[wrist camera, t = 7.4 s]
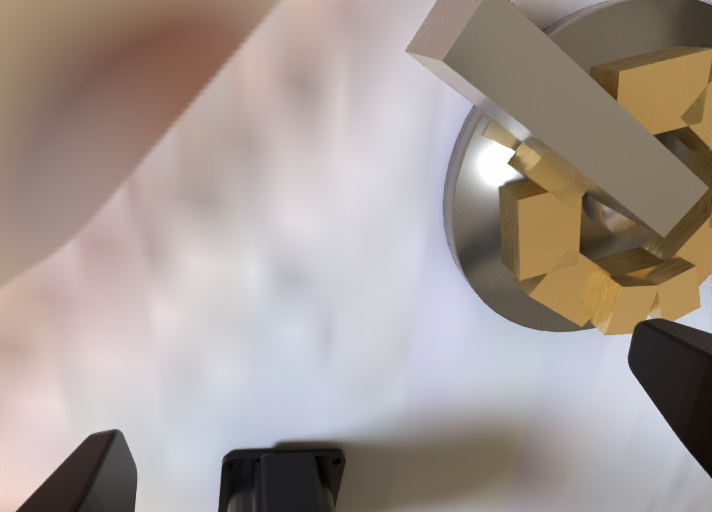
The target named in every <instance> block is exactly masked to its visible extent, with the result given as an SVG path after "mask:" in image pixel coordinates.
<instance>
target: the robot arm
mask: <svg viewBox="0 0 712 512" xmlns="http://www.w3.org/2000/svg"><path fill="white" fill-rule="evenodd" d="M628 364H629V367H630V369H631V371H632V373H633V374H634V376H635V377H636V378H637V380H638V381H639V383H640V384H641V385H642V387H643V388H644V390H645V391H646V393H647V394H648V395H649V397H650V398H651V400H652V401H653V403H654V404H655V405H656V407H657V408H658V410H659V411H660V413H661V414H662V415H663V417H664V418H665V420H666V421H667V423H668V424H669V425H670V427H671V428H672V430H673V431H674V432H675V434H676V435H677V437H678V438H679V439H680V441H681V442H682V443H683V445H684V446H685V447H686V448H687V449H688V451H689V452H690V453H691V454H692V456H693V457H694V458H695V459H696V460H697V462H698V463H699V464H700V465H701V466H702V468H703V469H704V470H705V471H706V472H707V473H708V475H709V476H710V477H711V478H712V334H711V333H708V332H705V331H702V330H698V329H695V328H692V327H689V326H685V325H682V324H679V323H676V322H673V321H669V320H666V319H662V318H654V319H649V320H644V321H640V322H638V323H637V324H636V326H635V327H634V330H633V335H632V339H631V344H630V349H629V353H628ZM336 458H337V459H336ZM345 461H346V460H345V455H344V452H343V451H342V450H340V449H327V450H300V451H273V452H246V453H230V454H227V455H225V456H224V457H223V460H222V470H221V483H220V495H219V508H218V512H335V505H336V501H337V496H338V492H339V488H340V483H341V479H342V475H343V470H344V466H345ZM136 489H137V468H136V464H135V462H134V459H133V457H132V454H131V452H130V449H129V447H128V445H127V442H126V440H125V437H124V435H123V433H122V432H121V431H120V430H118V429H112V430H107V431H102V432H97V433H94V434H91V435H90V436H88V437H87V438H86V439H85V440H84V441H83V442H82V443H81V444H80V445H79V446H78V447H77V448H76V449H75V450H74V452H73V453H72V454H71V455H70V456H69V457H68V458H67V459H66V460H65V461H64V462H63V463H62V464H61V465H60V466H59V467H58V468H57V469H56V470H55V471H54V472H53V473H52V474H51V475H50V476H49V477H48V478H47V479H46V481H45V482H44V483H43V484H42V485H41V486H40V487H39V488H38V489H37V490H36V491H35V492H34V493H33V494H32V495H31V496H30V497H29V498H28V499H27V500H26V501H25V502H24V503H23V504H22V505H21V506H20V507H19V509H18V510H17V511H16V512H135V501H136Z"/></svg>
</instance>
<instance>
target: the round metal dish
mask: <svg viewBox="0 0 712 512" xmlns="http://www.w3.org/2000/svg"><path fill="white" fill-rule="evenodd" d="M542 32H543V33H544V34H545V35H547V36H548V37H549V38H550V39H551V40H552V41H553V42H554V43H555V44H556V45H557V46H558V47H559V48H560V49H561V50H563V51H564V52H565V53H566V54H567V55H568V56H569V57H570V58H571V59H572V60H573V61H574V62H575V63H576V64H577V65H579V66H580V67H581V68H582V69H583V70H584V71H585V72H586V73H587V74H588V75H589V76H590V67H591V66H595V65H599V64H604V63H608V62H612V61H616V60H620V59H624V58H628V57H633V56H637V55H641V54H645V53H649V52H653V51H658V50H662V49H666V48H670V47H674V46H688V47H700V48H712V5H709V4H707V3H704V2H701V1H699V0H610V1H605V2H602V3H599V4H596V5H593V6H590V7H587V8H584V9H581V10H579V11H577V12H575V13H573V14H571V15H569V16H567V17H565V18H563V19H561V20H559V21H557V22H556V23H554V24H553V25H551V26H550V27H548V28H547V29H545V30H544V31H542ZM653 136H654V137H655V138H656V139H657V140H658V141H660V142H661V143H662V144H663V145H664V146H665V147H666V148H667V149H668V150H669V151H670V152H671V153H672V154H673V155H674V156H676V157H677V158H678V159H679V160H680V161H681V162H682V163H683V164H684V165H685V166H686V165H687V159H688V152H689V149H688V148H687V147H686V146H685V145H684V144H683V143H682V142H681V141H680V140H679V139H678V138H677V137H676V136H675V135H674V134H673V133H672V132H671V131H667V132H663V133H659V134H655V135H653ZM521 143H522V142H521V141H520V140H519V139H517V138H516V137H515V136H514V135H512V134H511V133H510V132H508V131H507V130H506V129H505V128H503V127H502V126H501V125H499V124H498V123H497V122H496V121H494V120H493V119H492V118H490V117H489V116H488V115H487V114H485V113H484V112H483V111H481V110H480V109H479V108H477V107H476V106H475V105H474V106H473V107H472V109H471V111H470V112H469V114H468V116H467V118H466V120H465V122H464V124H463V126H462V129H461V131H460V133H459V135H458V137H457V140H456V143H455V146H454V149H453V152H452V155H451V158H450V161H449V165H448V170H447V175H446V180H445V185H444V199H443V215H444V228H445V233H446V237H447V242H448V246H449V249H450V251H451V254H452V257H453V259H454V262H455V264H456V265H457V267H458V269H459V271H460V272H461V274H462V276H463V277H464V278H465V280H466V281H467V282H468V283H469V285H470V286H471V287H472V288H473V289H474V291H475V292H476V293H477V294H478V296H479V297H480V298H481V299H482V300H483V302H484V303H486V304H487V305H488V306H489V307H490V308H491V309H492V310H494V311H495V312H496V313H498V314H499V315H501V316H503V317H504V318H506V319H507V320H509V321H511V322H514V323H516V324H519V325H521V326H524V327H528V328H532V329H536V330H541V331H551V332H572V331H580V330H586V329H592V328H596V327H595V326H594V325H593V324H592V323H591V320H590V319H589V320H588V321H587V322H586V323H585V325H584V326H583V327H581V326H579V325H577V324H576V323H574V322H572V321H570V320H569V319H567V318H565V317H564V316H562V315H560V314H559V313H557V312H555V311H553V310H552V309H550V308H548V307H547V306H545V305H543V304H541V303H540V302H538V301H536V300H535V299H533V298H531V297H530V296H528V295H527V294H526V293H525V292H524V291H523V290H522V289H521V288H520V287H519V286H518V285H517V284H516V283H515V282H514V281H513V280H512V279H511V278H510V277H511V276H512V275H513V273H512V272H511V271H510V270H509V269H508V268H507V267H506V266H505V265H504V264H503V263H502V253H501V231H500V208H499V186H503V185H506V184H510V183H514V182H518V181H522V180H526V179H527V178H526V177H524V176H523V175H521V174H520V173H519V172H517V171H516V170H515V169H513V168H512V167H511V166H509V165H508V164H506V163H507V162H508V161H509V159H510V158H511V157H512V155H513V154H514V153H515V151H516V150H517V149H518V147H519V146H520V145H521ZM653 233H654V232H652V231H650V230H649V229H647V228H645V227H643V226H641V225H639V224H638V223H636V222H634V221H632V220H630V219H629V218H627V217H625V216H623V215H621V214H619V213H618V212H616V211H614V210H612V209H610V208H608V207H607V206H605V205H603V204H601V203H600V202H599V201H597V200H596V199H595V198H594V197H592V196H591V195H590V194H588V193H587V192H585V194H584V195H583V196H582V202H581V224H580V245H579V252H580V253H582V254H583V255H585V256H586V257H588V258H589V259H591V260H595V259H598V258H602V257H606V256H609V255H613V254H616V253H620V252H623V251H627V250H630V249H634V248H638V247H641V246H642V245H643V244H644V243H645V242H646V241H647V239H648V238H649V237H650V236H651V235H652V234H653Z"/></svg>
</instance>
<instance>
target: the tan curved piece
mask: <svg viewBox="0 0 712 512" xmlns="http://www.w3.org/2000/svg"><path fill="white" fill-rule="evenodd" d="M405 52H407V53H408V54H409V55H410V56H412V57H413V58H414V59H416V60H417V61H418V62H419V63H421V64H422V65H423V66H425V67H426V68H427V69H428V70H430V71H431V72H432V73H434V74H435V75H436V76H437V77H439V78H440V79H441V80H443V81H444V82H445V83H447V84H448V85H449V86H450V87H452V88H453V89H454V90H456V91H457V92H458V93H459V94H461V95H462V96H463V97H465V98H466V99H467V100H468V101H470V102H471V103H472V104H474V105H475V106H476V107H477V108H479V109H480V110H481V111H483V112H484V113H485V114H487V115H488V116H489V117H490V118H492V119H493V120H494V121H496V122H497V123H498V124H499V125H501V126H502V127H503V128H505V129H506V130H507V131H508V132H510V133H511V134H512V135H514V136H515V137H516V138H517V139H519V140H520V141H521V142H522V143H521V145H520V146H519V147H518V149H517V150H516V151H515V153H514V154H513V155H512V157H511V158H510V159H509V161H508V162H507V163H506V164H508V165H509V166H511V167H512V168H513V169H515V170H516V171H517V172H519V173H520V174H521V175H523V176H524V177H526V178H527V179H526V180H522V181H518V182H514V183H510V184H506V185H503V186H499V208H500V231H501V253H502V263H503V264H504V265H505V266H506V267H507V268H508V269H509V270H510V271H511V272H512V273H513V275H512V276H511V277H510V278H511V279H512V280H513V281H514V282H515V283H516V284H517V285H518V286H519V287H520V288H521V289H522V290H523V291H524V292H525V293H526V294H527V295H528V296H530V297H531V298H533V299H535V300H536V301H538V302H540V303H541V304H543V305H545V306H547V307H548V308H550V309H552V310H553V311H555V312H557V313H559V314H560V315H562V316H564V317H565V318H567V319H569V320H570V321H572V322H574V323H576V324H577V325H579V326H581V327H583V326H584V325H585V323H586V322H587V321H588V320H589V319H590V320H591V323H592V324H593V325H594V326H595V327H596V328H597V329H598V330H599V331H601V332H602V333H603V334H604V335H617V334H631V333H633V330H634V327H635V326H636V324H637V323H638V322H640V321H644V320H646V318H647V316H648V315H649V316H651V317H652V318H653V319H654V318H662V319H666V320H669V321H674V320H676V319H678V318H680V317H682V316H684V315H686V314H688V313H690V312H692V311H694V310H696V309H698V308H699V307H700V298H699V289H698V287H699V286H700V285H701V284H702V283H703V281H704V280H705V279H706V278H707V277H708V276H709V275H710V274H711V273H712V48H700V47H688V46H674V47H670V48H666V49H662V50H658V51H653V52H649V53H645V54H641V55H637V56H633V57H628V58H624V59H620V60H616V61H612V62H608V63H604V64H599V65H595V66H591V67H590V76H589V75H588V74H587V73H586V72H585V71H584V70H583V69H582V68H581V67H580V66H579V65H577V64H576V63H575V62H574V61H573V60H572V59H571V58H570V57H569V56H568V55H567V54H566V53H565V52H564V51H563V50H561V49H560V48H559V47H558V46H557V45H556V44H555V43H554V42H553V41H552V40H551V39H550V38H549V37H548V36H547V35H545V34H544V33H543V32H542V31H541V30H540V29H539V28H538V27H537V26H536V25H535V24H534V23H533V22H532V21H531V20H529V19H528V18H527V17H526V16H525V15H524V14H523V13H522V12H521V11H520V10H519V9H518V8H517V7H516V6H515V5H513V4H512V3H511V2H510V1H509V0H437V2H436V3H435V5H434V6H433V8H432V10H431V11H430V13H429V14H428V16H427V17H426V19H425V21H424V22H423V24H422V25H421V27H420V28H419V30H418V31H417V33H416V35H415V36H414V38H413V39H412V41H411V42H410V44H409V46H408V47H407V49H406V50H405ZM667 131H671V132H672V133H673V134H674V135H675V136H676V137H677V138H678V139H679V140H680V141H681V142H682V143H683V144H684V145H685V146H686V147H687V148H688V149H689V152H688V159H687V165H686V166H685V165H684V164H683V163H682V162H681V161H680V160H679V159H678V158H677V157H676V156H674V155H673V154H672V153H671V152H670V151H669V150H668V149H667V148H666V147H665V146H664V145H663V144H662V143H661V142H660V141H658V140H657V139H656V138H655V137H654V136H653V135H655V134H659V133H663V132H667ZM585 192H587V193H588V194H590V195H591V196H592V197H594V198H595V199H596V200H597V201H599V202H600V203H601V204H603V205H605V206H607V207H608V208H610V209H612V210H614V211H616V212H618V213H619V214H621V215H623V216H625V217H627V218H629V219H630V220H632V221H634V222H636V223H638V224H639V225H641V226H643V227H645V228H647V229H649V230H650V231H652V232H654V233H653V234H652V235H651V236H650V237H649V238H648V239H647V241H646V242H645V243H644V244H643V245H642V246H641V247H638V248H634V249H630V250H627V251H623V252H620V253H616V254H613V255H609V256H606V257H602V258H598V259H595V260H591V259H589V258H588V257H586V256H585V255H583V254H582V253H580V252H579V245H580V224H581V202H582V196H583V195H584V194H585Z"/></svg>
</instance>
